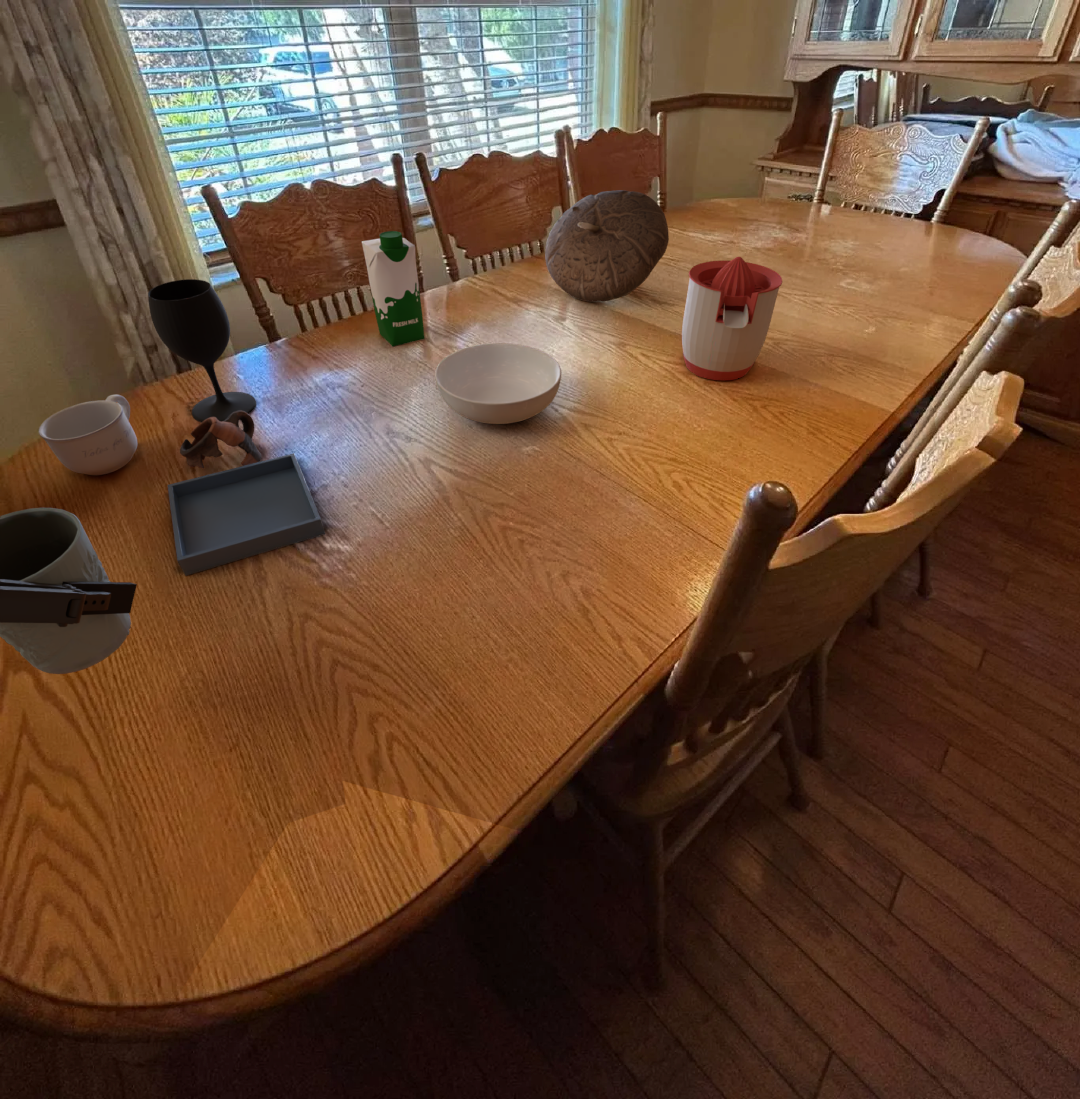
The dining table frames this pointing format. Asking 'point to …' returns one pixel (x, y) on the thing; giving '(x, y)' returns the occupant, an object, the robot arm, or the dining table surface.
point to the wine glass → (197, 338)
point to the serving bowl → (498, 382)
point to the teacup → (92, 436)
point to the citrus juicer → (727, 317)
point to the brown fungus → (606, 245)
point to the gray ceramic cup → (55, 557)
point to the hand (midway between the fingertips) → (84, 585)
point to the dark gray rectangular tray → (241, 513)
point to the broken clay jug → (225, 432)
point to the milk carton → (394, 288)
